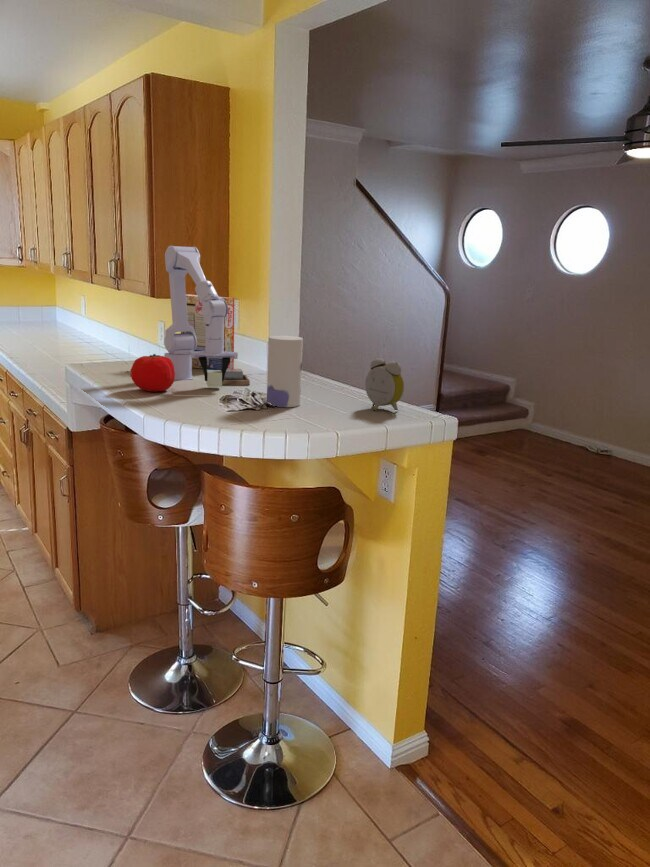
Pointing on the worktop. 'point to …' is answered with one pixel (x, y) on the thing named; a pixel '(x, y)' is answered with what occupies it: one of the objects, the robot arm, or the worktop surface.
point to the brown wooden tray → (237, 381)
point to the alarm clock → (384, 383)
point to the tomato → (153, 373)
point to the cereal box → (200, 331)
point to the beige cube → (214, 378)
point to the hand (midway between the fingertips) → (214, 380)
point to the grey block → (233, 374)
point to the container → (284, 370)
